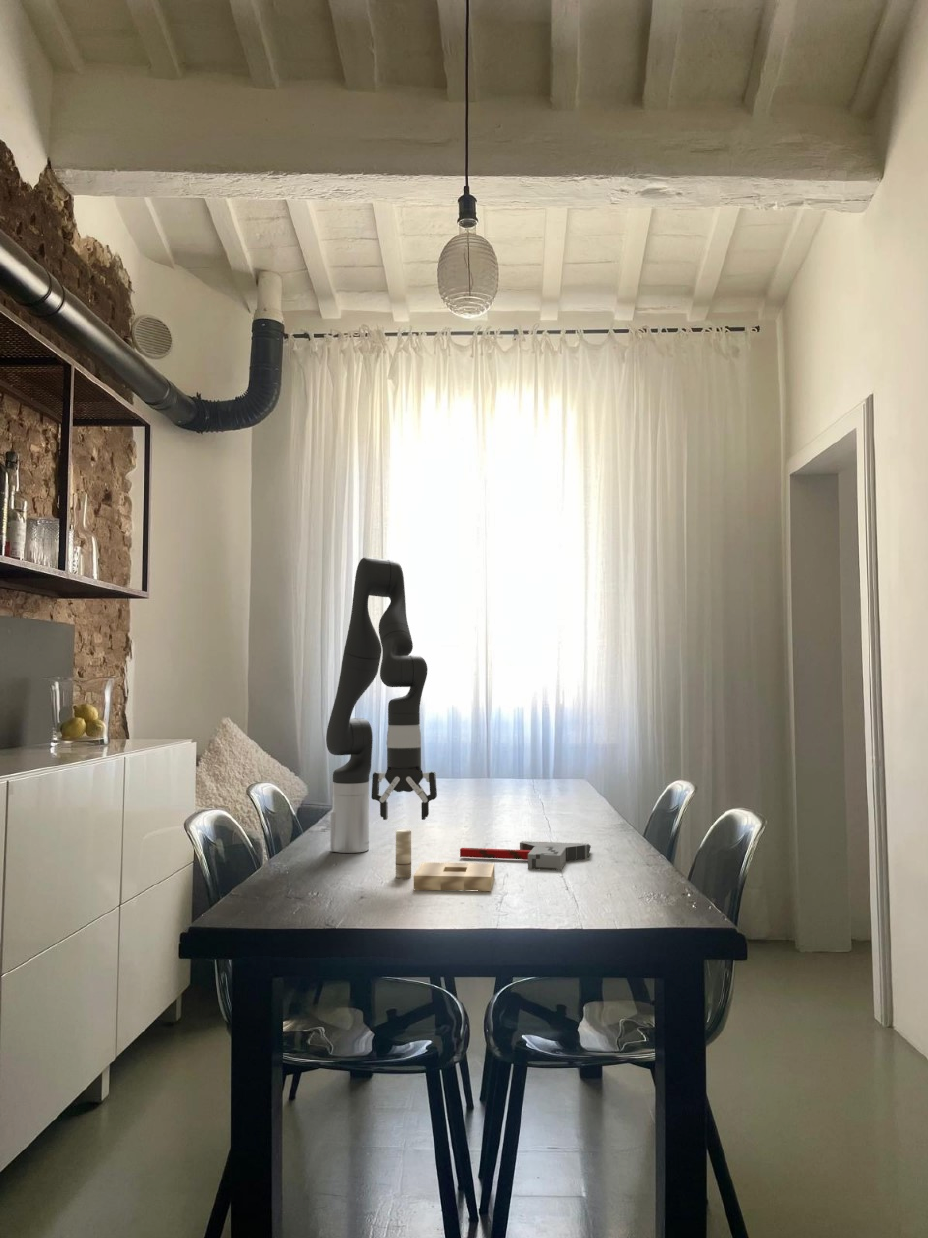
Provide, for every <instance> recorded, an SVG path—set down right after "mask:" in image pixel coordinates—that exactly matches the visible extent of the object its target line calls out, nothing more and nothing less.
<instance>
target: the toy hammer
mask: <svg viewBox="0 0 928 1238" xmlns="http://www.w3.org/2000/svg"><path fill="white" fill-rule="evenodd" d="M591 846H592V845H590V844H589V843H587V842H586V843H583V842H581V843H580V842H559V841H558V842H556V841H555V842H554V841H552V842H551V841H527V840H523V841H520V842H519V849H505V848H504V849H503V848H480V847H479V848H477V847H476V848H475V847H461V848H459V856H460V858H477V859H478V858H482V859H505V860H524V861H525V860H527V870H538V869H540V870H541V871H561V870H562V869H563V867H564V866H563V865H565V864H566V863H567V862H574V861H583V860H588V858H589V855H590V851H591V848H592V847H591Z"/></svg>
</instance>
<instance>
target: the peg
mask: <svg viewBox="0 0 928 1238" xmlns="http://www.w3.org/2000/svg"><path fill="white" fill-rule="evenodd" d="M394 863H395V878H396V879H400V878H406V879H410V878H409V877H412V830H411V829H398V830H395V862H394Z"/></svg>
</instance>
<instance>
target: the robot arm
mask: <svg viewBox="0 0 928 1238" xmlns="http://www.w3.org/2000/svg"><path fill="white" fill-rule="evenodd" d="M353 585H354V586H353V595H352V602H351V603H352V605H351V613H350V618H349V619H350V621H349V624H348V628H347V629H348V631H347V634H346V635H347V636H346V638H345V639H346V640H345V644H344V649H343V655H342V660H341V667H340V675H339V678H338V683H337V684H338V685H337V690H336V695H335V699H334V703H333V706H332V709H331V713H330V716H329V721H328V725H327V728H326V734H325V735H326V736H325V737H326V739H325V743H326V748H327V751H328V752H329V753H330V754H331V755H333V756H350V757H349V760H348V762H346V764H345V763H344V765H343V766H341V767H339V768H337V769H334V771H333V773H332V812H331V813H330V829H329V830H330V843H329V845H330V847H329V849H330V852H333V853H334V852H335V853H342V854H344V853H345V854H346V853H347V854H354V853H364V852H367V851H369V849H370V774H371V771H372V757H373V755H372V754H373V741H374V740H373V729H372V725H371V723H370V721H369V720H368V719H366V718H361V717H360V718H359V717H357V718H356V717H355V718H352V714H353V712H354V711H353V710H354V708H355V706H356V704H357V702H358V701H359V700H360V698H362V696H363V695H364V693H365V692H366V691H367V689H369V687H370V686H371V685H372V683H373V682H374V680H375V678H376V677H377V675H378V672H379V677H380V680H381V682H382V684H384V685H385V686H386V687H389V688H409V690H408V692H407V693H406V695H403V696H401V697H395V698H393V699H392V698H391V699H390V700H389V702H388V704H387V705H388V706H387V732H386V764H387V765H386V772H380V771H375V772H373V773H372V783H371V800H373V801H374V800H375V801H377V802H379V812H380V813H379V815H380V818H382V820H383V821H387V820H388V818H389V816H388V814H389V813H388V811H389V810H388V809H389V808H388V804H389V803H388V801H387V800H388V799H389V797H390V796H391V795H392V793H393V792H394V791H395V792H397V793H401V792H406V793H412V792H414V793H415V794H416V795H417V796H418V797H419V799H420V801H422V802H421V820H423V821H424V820H426V819H427V818H428V816H429V813H430V811H429V807H430V806H429V805H430V804H429V803H430V801H433V800H435V799H436V798H438V797H437V796H438V795H437V779H436V772H435V771H434V770H433V771H430V772H423V770H422V739H421V738H422V735H421V734H422V733H421V729H420V728H421V726H420V721H421V720H420V719H421V715H420V712H421V711H420V706H421V700H422V695H423V691H424V688H425V684H426V681H427V677H428V664H427V661H426V660H425V659H424V658H423V657H422V656H421V655H410V654H411V653H412V651H413V648H414V643H413V640H412V639H413V638H412V636H411V632H410V628H409V625H408V619H407V607H406V604H407V603H406V592H405V591H406V590H405V589H406V588H405V577H404V572H403V568H402V566H401V564H400V563H399V562H398V561H394V560H392V559H391V560H390V559H384V558H377V557H376V558H375V557H367V556H365V557H363V558H360V560H359V562H358V564H357V567H356V572H355V577H354V584H353ZM370 596H373V597H379V598H389V600H390V603H389V605H388V606H387V608H386V609H385V611H384V612H383V613H382V616H381V617H380V619H379V623H378V634H377V631H376V630H375V627H374V625H373V622H372V619H371V616H370V612H369V598H370ZM378 635H379V636H378ZM380 661H381V662H380ZM380 663H381V664H380ZM379 667H380V669H379ZM383 779H385V780H386V782H387V783H388V784H389V786H387V788H386V789H385V790H384V792H383V793H382V794H379V793H380V783H381V782H383ZM423 779H425V781H426V783H428V784H429V794H427V793H426V792H425V790H424V788H423V787H422V786H421V784H420V783H421V781H422V780H423Z"/></svg>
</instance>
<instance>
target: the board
mask: <svg viewBox="0 0 928 1238" xmlns="http://www.w3.org/2000/svg"><path fill="white" fill-rule="evenodd" d="M495 877H496V875H495V863H494V862H493V863H489V862H488V863H486V862H483V863H481V862H479V863H478V862H468V863H467V862H423V861H422V862H421V863H420V865H419V867H418V868H417V870H416V871H415V872H414V874H413V890H414V889H415V890H414V891H419V890H478V891H477V892H481V891H491V892H492V890H491V889H493V886H492V885H494V881H495Z"/></svg>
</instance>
